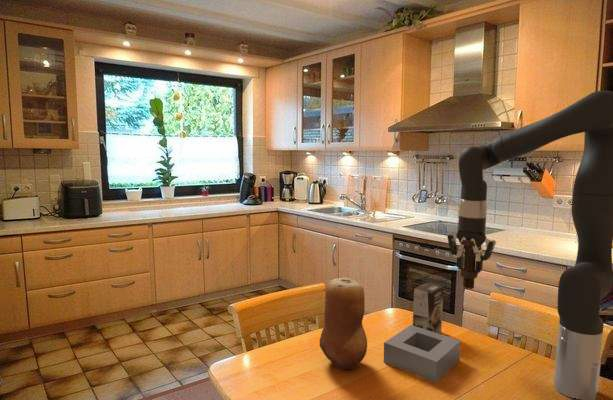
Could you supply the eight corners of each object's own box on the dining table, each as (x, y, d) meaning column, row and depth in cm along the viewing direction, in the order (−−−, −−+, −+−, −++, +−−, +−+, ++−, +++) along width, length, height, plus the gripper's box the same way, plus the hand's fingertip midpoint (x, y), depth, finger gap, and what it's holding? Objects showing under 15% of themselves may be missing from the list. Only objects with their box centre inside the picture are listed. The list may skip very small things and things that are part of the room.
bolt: (475, 285, 127) (478, 237, 125) (480, 291, 122) (484, 241, 120) (456, 284, 127) (458, 237, 125) (460, 290, 122) (463, 240, 120)
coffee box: (429, 340, 133) (431, 292, 131) (411, 334, 138) (413, 288, 135) (442, 331, 140) (444, 285, 138) (424, 326, 144) (426, 281, 142)
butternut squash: (375, 363, 119) (378, 279, 116) (350, 383, 109) (352, 292, 106) (336, 347, 128) (337, 270, 125) (309, 365, 118) (310, 281, 115)
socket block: (459, 360, 121) (460, 340, 121) (435, 383, 110) (436, 361, 109) (409, 342, 132) (410, 324, 131) (383, 361, 120) (384, 342, 119)
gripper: (502, 216, 119) (498, 273, 122) (454, 210, 129) (451, 263, 131) (493, 219, 114) (489, 279, 116) (443, 213, 123) (440, 268, 126)
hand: (469, 270), depth 124 cm, fingers closed on bolt, 4 cm apart
